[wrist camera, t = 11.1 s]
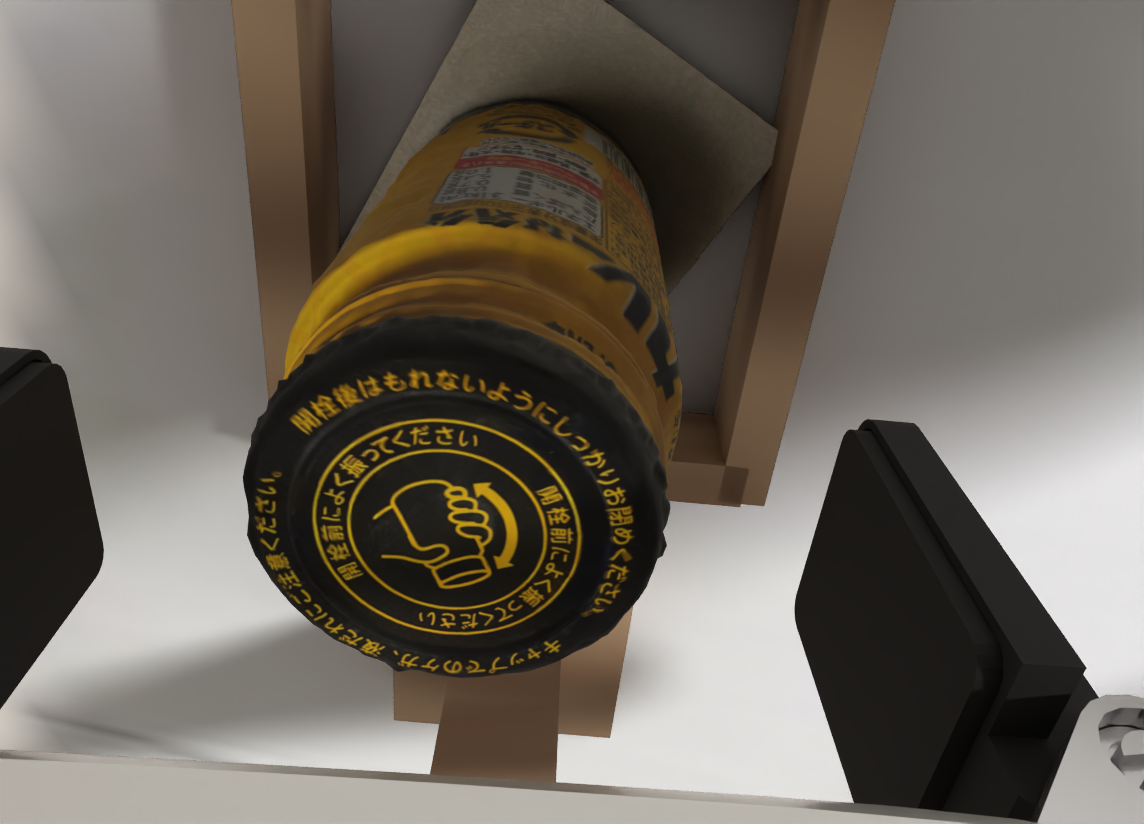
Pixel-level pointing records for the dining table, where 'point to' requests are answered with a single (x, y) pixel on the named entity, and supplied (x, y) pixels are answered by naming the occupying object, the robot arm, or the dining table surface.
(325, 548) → the condiment
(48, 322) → the dining table surface
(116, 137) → the dining table surface
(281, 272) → the frame
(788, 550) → the dining table surface
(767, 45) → the dining table surface
